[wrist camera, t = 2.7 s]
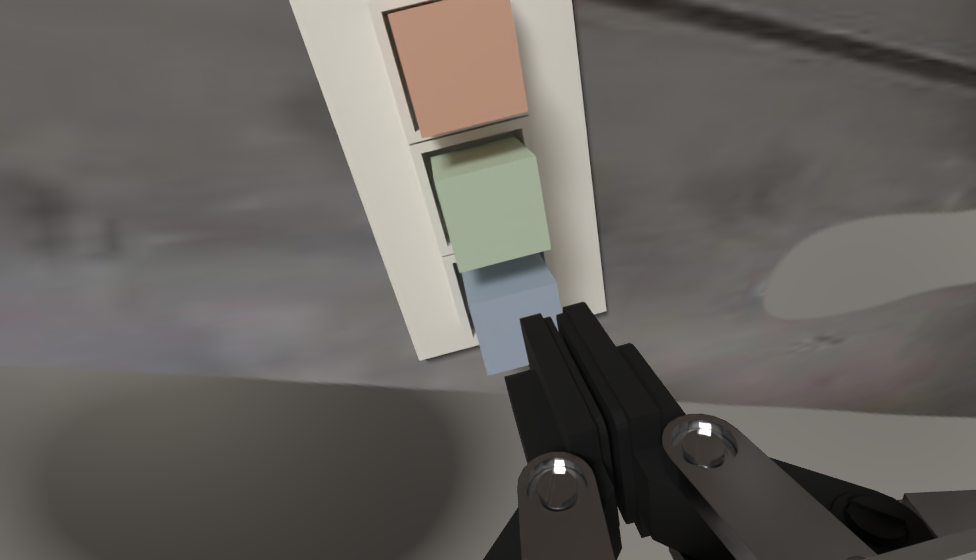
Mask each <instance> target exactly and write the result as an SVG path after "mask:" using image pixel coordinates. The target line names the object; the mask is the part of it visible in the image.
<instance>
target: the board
mask: <svg viewBox="0 0 976 560" xmlns="http://www.w3.org/2000/svg"><path fill="white" fill-rule="evenodd" d="M289 1H290V4H291V7H292V9H293V12H294V15H295V18H296V21H297V23H298V26H299V29H300V32H301V34H302V37H303V40H304V43H305V45H306V48H307V51H308V54H309V56H310V59H311V62H312V65H313V68H314V70H315V73H316V76H317V79H318V81H319V84H320V87H321V90H322V92H323V95H324V98H325V101H326V104H327V106H328V109H329V112H330V115H331V117H332V120H333V123H334V126H335V128H336V131H337V134H338V137H339V140H340V142H341V145H342V148H343V151H344V153H345V156H346V159H347V162H348V164H349V167H350V170H351V173H352V176H353V178H354V181H355V184H356V187H357V189H358V192H359V195H360V198H361V200H362V203H363V206H364V209H365V211H366V214H367V217H368V220H369V223H370V225H371V228H372V231H373V234H374V236H375V239H376V242H377V245H378V247H379V250H380V253H381V256H382V259H383V261H384V264H385V267H386V270H387V272H388V275H389V278H390V281H391V283H392V286H393V289H394V292H395V295H396V297H397V300H398V303H399V306H400V308H401V311H402V314H403V317H404V319H405V322H406V325H407V328H408V331H409V333H410V336H411V339H412V342H413V344H414V347H415V350H416V353H417V355H418V358H419V361H421V360H424V359H428V358H432V357H436V356H439V355H443V354H447V353H451V352H455V351H458V350H462V349H466V348H470V347H473V346H477V345H479V342H478V338H477V334H476V331H475V327H474V324H473V320H472V316H471V313H470V309H469V306H468V301H467V296H466V291H465V287H464V282H463V277H462V273H459V270H458V266H457V262H456V259H455V255H454V252H453V248H452V244H451V241H450V237H449V234H448V230H447V226H446V223H445V219H444V216H443V212H442V208H441V205H440V201H439V198H438V194H437V190H436V187H435V183H434V178H433V171H432V164H431V158H430V157H433V156H437V155H441V154H445V153H449V152H453V151H457V150H461V149H465V148H468V147H472V146H476V145H480V144H484V143H488V142H492V141H496V140H500V139H504V138H508V137H512V136H515V137H516V138H517V139H518V140H519V141H520V142H521V143H522V144H523V145H525V146H526V147H527V148H528V149H529V150H530V151H531V152H532V153H533V154H534V155H535V156H536V159H537V165H538V171H539V178H540V184H541V190H542V196H543V202H544V208H545V214H546V220H547V226H548V232H549V238H550V244H551V249H550V250H546V251H542V252H539V254H540V255H541V257H542V259H543V260H544V262H545V264H546V265H547V267H548V269H549V270H550V272H551V274H552V275H553V277H554V279H555V280H556V282H557V286H558V292H559V298H560V304H561V310H562V309H563V307H565V306H569V305H572V304H576V303H580V302H585V303H586V304H587V305H588V307H589V308H590V310H591V311H592V313H593V314H598V313H602V312H605V311H606V303H605V294H604V285H603V276H602V267H601V258H600V249H599V240H598V231H597V222H596V213H595V204H594V195H593V186H592V177H591V168H590V159H589V150H588V141H587V132H586V123H585V115H584V106H583V97H582V88H581V79H580V70H579V61H578V52H577V43H576V34H575V25H574V16H573V7H572V0H510V3H511V9H512V15H513V21H514V27H515V33H516V39H517V45H518V51H519V57H520V63H521V69H522V75H523V81H524V87H525V93H526V99H527V105H528V112H524V113H520V114H516V115H513V116H509V117H505V118H501V119H497V120H493V121H489V122H485V123H481V124H477V125H473V126H469V127H465V128H461V129H457V130H453V131H449V132H445V133H441V134H437V135H433V136H429V137H425V138H422V136H421V133H420V129H419V126H418V122H417V118H416V115H415V111H414V108H413V104H412V100H411V97H410V93H409V90H408V86H407V82H406V79H405V75H404V72H403V68H402V64H401V61H400V57H399V54H398V50H397V46H396V43H395V39H394V36H393V32H392V28H391V25H390V21H389V18H388V14H390V13H394V12H398V11H402V10H407V9H411V8H415V7H419V6H423V5H427V4H431V3H435V2H439V1H443V0H289ZM562 313H563V311H562Z"/></svg>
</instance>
